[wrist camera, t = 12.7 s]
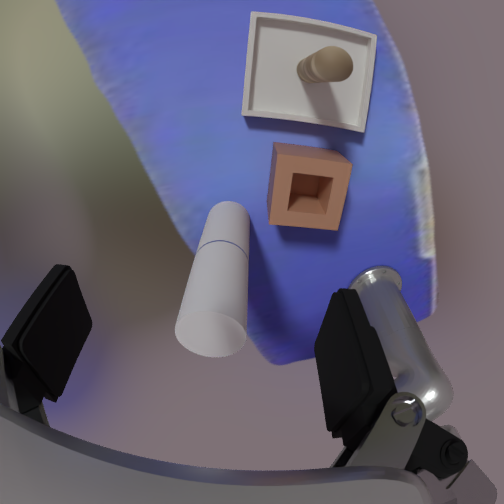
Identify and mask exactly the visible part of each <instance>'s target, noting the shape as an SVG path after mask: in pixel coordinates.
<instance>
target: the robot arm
mask: <svg viewBox="0 0 504 504" xmlns="http://www.w3.org/2000/svg"><path fill="white" fill-rule="evenodd" d="M401 287H402V280H401V277H400V275H399V274H398V272H397V271H396V270H395V269H393V268H391V267H388V266H376V267H372V268H370V269H367V270H365V271H364V272H362V273H360V274H359V275H358V276H357V277H356V278H355V279H354V280H353V281H352V283H351V284H350V286H349V288H348V289H342V288H340V289H339V290H338V291H337V292H334V293H333V294H332V297H331V300H330V303H329V305H328V308H327V311H326V314H325V317H324V320H323V322H322V325H321V328H320V331H319V333H318V336H317V339H316V341H315V347H314V351H315V357H316V363H317V369H318V375H319V381H320V387H321V394H322V400H323V407H324V413H325V420H326V427H327V430H328V431H329V432H330V431H332V437H333V438H339V437H342V439H343V445H344V446H345V447H344V448H343V450H342V451H341V453H340V454H339V455H338V457H337V458H336V459H335V461H334V462H333V464H332V465H331V466H330V468H322V469H310V470H289V471H288V470H286V471H251V470H250V471H249V470H229V469H228V470H227V469H215V468H206V467H197V466H190V465H182V464H176V463H169V462H164V461H159V460H154V459H149V458H144V457H140V456H136V455H132V454H128V453H124V452H120V451H116V450H113V449H110V448H106V447H103V446H100V445H96V444H93V443H90V442H87V441H85V440H82V439H79V438H76V437H73V436H71V435H68V434H66V433H63V432H60V431H58V430H55V429H53V428H51V427H50V426H49V423H48V420H47V416H46V413H45V410H44V406H43V403H42V400H43V397H45V398H46V399H48V400H51V401H53V402H56V401H57V399H58V397H60V396H61V395H62V393H63V391H64V388H65V386H66V384H67V381H68V379H69V376H70V374H71V371H72V369H73V367H74V365H75V363H76V360H77V358H78V356H79V354H80V351H81V350H82V347H83V345H84V343H85V341H86V339H87V337H88V335H89V333H90V331H91V328H92V320H91V317H90V314H89V312H88V309H87V307H86V304H85V301H84V299H83V296H82V293H81V290H80V288H79V285H78V281H77V278H76V275H75V273H74V271H73V270H72V269H71V267H70V266H67V265H59V264H56V265H55V266H54V267H53V268H52V269H51V270H50V272H49V273H48V274H47V276H46V277H45V278H44V279H43V281H42V282H41V283H40V285H39V286H38V287H37V289H36V290H35V291H34V293H33V294H32V295H31V297H30V298H29V299H28V301H27V302H26V304H25V305H24V306H23V308H22V309H21V311H20V312H19V314H18V315H17V317H16V318H15V320H14V321H13V323H12V324H11V326H10V327H9V329H8V330H7V332H6V333H5V335H4V337H3V338H2V340H1V341H2V343H3V345H4V346H3V348H1V346H0V504H495V501H496V498H497V489H496V488H495V486H494V484H493V483H492V482H491V481H490V480H489V479H488V477H487V476H486V475H485V474H484V473H483V472H482V470H481V469H480V468H479V467H478V466H477V465H476V463H475V462H474V461H473V460H470V461H468V451H467V447H466V445H465V443H464V442H463V441H462V439H461V437H460V435H459V433H458V431H457V430H456V429H455V427H453V426H451V425H444V426H438V425H436V424H435V423H433V422H432V421H433V420H435V419H436V418H438V417H439V416H440V415H442V414H443V413H444V412H445V411H446V410H447V409H448V408H449V406H450V405H451V403H452V400H453V388H452V385H451V383H450V381H449V379H448V377H447V375H446V374H445V372H444V371H443V369H442V368H441V366H440V365H439V363H438V362H437V360H436V358H435V357H434V355H433V353H432V352H431V350H430V348H429V346H428V344H427V342H426V340H425V338H424V336H423V334H422V332H421V330H420V328H419V326H418V324H417V322H416V320H415V318H414V316H413V314H412V312H411V311H410V309H409V307H408V305H407V303H406V301H405V299H404V297H403V296H402V294H401V292H400V291H401ZM393 376H395V377H397V378H396V379H395V380H394V379H393Z"/></svg>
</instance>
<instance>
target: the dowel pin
mask: <svg viewBox="0 0 504 504" xmlns="http://www.w3.org/2000/svg"><path fill="white" fill-rule="evenodd" d="M352 71H353V61H352V58H351V56H350V55H349V54H348V53H347V52H346V51H345V50H344V49H342V48H340V47H337V46H327V47H324V48H322V49H321V50H319V51H317V52H315V53H313V54H311V55H309V56H308V57H306V58H304V59H302V60H301V61H300V62H299V63H298V65H297V74H298V76H299V77H300V78H301V79H302V80H303V81H305V82H307V83H321V82H341V81H344V80H346V79H347V78H348V77H349V76H350V75H351V73H352Z"/></svg>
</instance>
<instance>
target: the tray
mask: <svg viewBox="0 0 504 504" xmlns="http://www.w3.org/2000/svg"><path fill="white" fill-rule="evenodd" d="M376 41H377V35H375V34H371V33H368V32H365V31H361V30H358V29H354V28H350V27H347V26H343V25H338V24H334V23H330V22H325V21H320V20H315V19H309V18H304V17H297V16H291V15H283V14H275V13H264V12H251V19H250V28H249V38H248V49H247V59H246V70H245V81H244V93H243V104H242V115H243V116H256V117H267V118H277V119H286V120H294V121H301V122H308V123H315V124H321V125H327V126H333V127H338V128H344V129H349V130H354V131H358V132H363V133H364V130H365V125H366V119H367V113H368V106H369V100H370V93H371V85H372V78H373V70H374V61H375V52H376ZM327 46H337V47H340V48H342V49H344V50H345V51H346V52H347V53H348V54H349V55H350V56H351V58H352V61H353V71H352V73H351V75H350V76H349V77H348V78H347V79H346V80H344V81H341V82H321V83H307V82H305V81H303V80H302V79H301V78H300V77H299V76H298V74H297V65H298V63H299V62H300V61H301V60H302V59H304V58H306V57H308V56H309V55H311V54H313V53H315V52H317V51H319V50H321V49H322V48H324V47H327Z"/></svg>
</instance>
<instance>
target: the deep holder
mask: <svg viewBox="0 0 504 504" xmlns="http://www.w3.org/2000/svg"><path fill="white" fill-rule="evenodd" d="M352 165H353V164H352V163H351V162H349V161H348V160H347V159H346V158H345V157H344V156H342V155H341V154H340V153H339V152H338V151H336V150H330V149H324V148H317V147H310V146H303V145H295V144H287V143H278V142H273V151H272V160H271V169H270V177H269V186H268V195H267V210H268V220H269V224H272V225H284V226H295V227H306V228H317V229H327V230H337V231H338V227H339V223H340V219H341V215H342V210H343V206H344V202H345V197H346V193H347V189H348V184H349V179H350V175H351V170H352Z"/></svg>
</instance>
